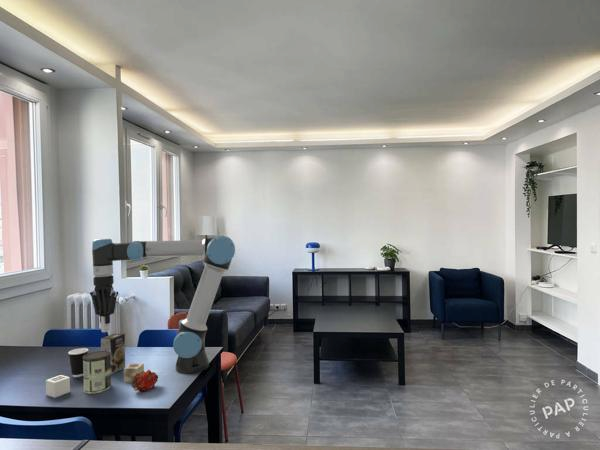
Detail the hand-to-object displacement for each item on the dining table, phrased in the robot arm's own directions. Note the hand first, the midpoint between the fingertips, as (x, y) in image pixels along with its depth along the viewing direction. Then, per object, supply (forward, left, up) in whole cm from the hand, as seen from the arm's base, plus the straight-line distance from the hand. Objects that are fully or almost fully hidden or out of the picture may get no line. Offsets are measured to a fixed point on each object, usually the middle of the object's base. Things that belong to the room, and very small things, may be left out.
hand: (105, 331), depth 161 cm
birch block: (-7, -9, -23) cm, 26 cm away
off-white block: (+13, +11, -23) cm, 29 cm away
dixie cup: (+21, -6, -23) cm, 32 cm away
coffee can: (+1, +3, -23) cm, 24 cm away
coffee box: (+10, -15, -23) cm, 29 cm away
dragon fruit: (-19, -2, -23) cm, 30 cm away
